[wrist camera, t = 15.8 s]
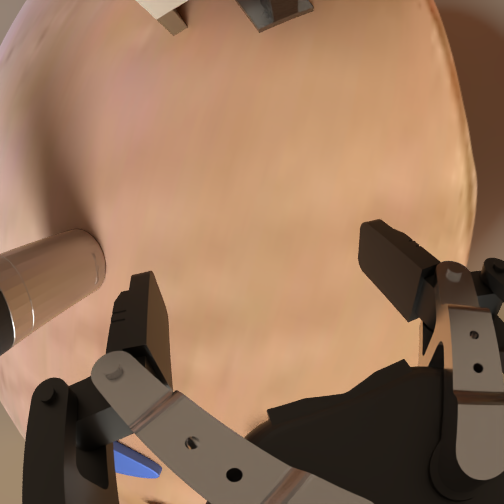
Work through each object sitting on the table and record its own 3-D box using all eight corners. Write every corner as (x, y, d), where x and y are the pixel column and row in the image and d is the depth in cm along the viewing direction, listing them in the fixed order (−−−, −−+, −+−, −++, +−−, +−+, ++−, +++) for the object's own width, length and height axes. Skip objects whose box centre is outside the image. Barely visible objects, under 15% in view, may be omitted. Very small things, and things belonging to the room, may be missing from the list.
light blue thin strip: (158, 448, 47) (57, 411, 49) (153, 460, 43) (50, 420, 46) (167, 480, 50) (74, 446, 52) (162, 491, 47) (68, 455, 49)
